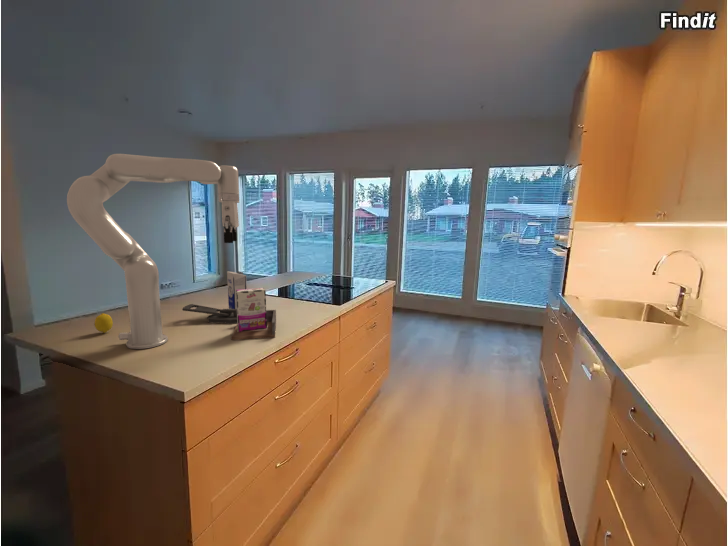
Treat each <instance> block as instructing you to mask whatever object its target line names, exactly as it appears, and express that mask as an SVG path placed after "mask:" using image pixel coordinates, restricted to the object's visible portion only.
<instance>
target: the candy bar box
mask: <svg viewBox="0 0 728 546" xmlns="http://www.w3.org/2000/svg"><path fill="white" fill-rule="evenodd" d="M266 292H267V291H266V289H265V288H264V287H256V288H247V289H241V290H236V303H237V323H238V331H239V332H241V331H250V330H257V329H265V328H267V317H266V310H267V299H266V298H267V296H266ZM237 323H236V324H237Z"/></svg>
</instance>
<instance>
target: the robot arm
mask: <svg viewBox="0 0 728 546" xmlns="http://www.w3.org/2000/svg"><path fill="white" fill-rule="evenodd" d="M130 182H141V183H142V182H145V183H161V184H162V183H163V184H165V183H166V184H167V183H169V184H170V183H175V182H198V183H200V184H203V185H217V192H218V193H217V194H218V202H219V203H221V220H222V221H221V222H222V227H223V242H224V244H233V243H234V242H237V241H238V238H237V237H238V234H237V228H239V225H240V223H239V209H238V203H240V189H239V170H238V168H237V167H236V166H234V165H223V164H222V165H218V164H217V163H215V162H214V161H211V160H205V159H194V158H176V157H163V156H162V157H161V156H149V155H137V154H129V153H126V154H125V153H113V154H110V155H109V156H108V157H107V158H106V160H105V163H104V164H103V165H102V166H100V167H99V168H98V169H97V170H95V171H94V172H93V173H91V174H90V175H82V176H80V177H77V178H76V179H75V180H74V181H73V182H72V184H71V186H70V187H69V189H68V192H67V196H66V204H67V208H68V209H67V210H68V211H69V213H70V215H71V217H72V218H73V220H74V221H75V223H77V225H78V226H80V228H82V230H83V231H84V232H85V233H86V234H87V235H88V236H89V237H90V238H91V240H93V242H94V243H95V244H96V245H97V246H98V247H99V249H100V250H101V252H103V254H104V255H106V256H107V257H109V258H111V259H112V260H113V261H114V262H115V263H116V264H117V266H119V267H120V268H121V269H122V270H123V271H124V278H125V279H124V280H125V287H126V297H127V300H126V301H127V308H128V317H129V327H130V330H129V332H119V333H118V336H117V337H118V338H119V341H122V340H123V341H124V340H127V341H126V343H125V344H126V347H127V348H128V349H132V350H143V349H144V350H145V349H152V348H154V347H158V346H159V347H160V346H161V345H163V344H165V343H166V342H168V339H169V337H168V335H166V334H163V325H162V324H163V323H162V311H161V310H162V309H161V300H160V299H161V298H160V297H161V296H160V278H159V277H160V276H159V275H160V273H159V269H158V266H157V263H156V262H155V261H154V260H153V259H152V258H151V257H150V256H149V254H148V253H147V252H146V251H145V250H144V249H143V248H142V247H141V245H140V244H139V243H138V242H137V241H136V240H135V239H134V237H132V236H131V234H130V233H128V232H127V231H125V230H124V229H123V228H122V227H121V225H119V224H118V223H117V222H116V221H115V219H114V218H113V217H112V216H111V214H109V213H108V211H107V210H106V209H105V207H104V202H106V201H108V200H109V199H110V198H112V197H113V196H114V195H115V194H117V192H119V191H120V190H121V189H123V188H124V187H125V186H126V185H127V184H129V183H130Z"/></svg>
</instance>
